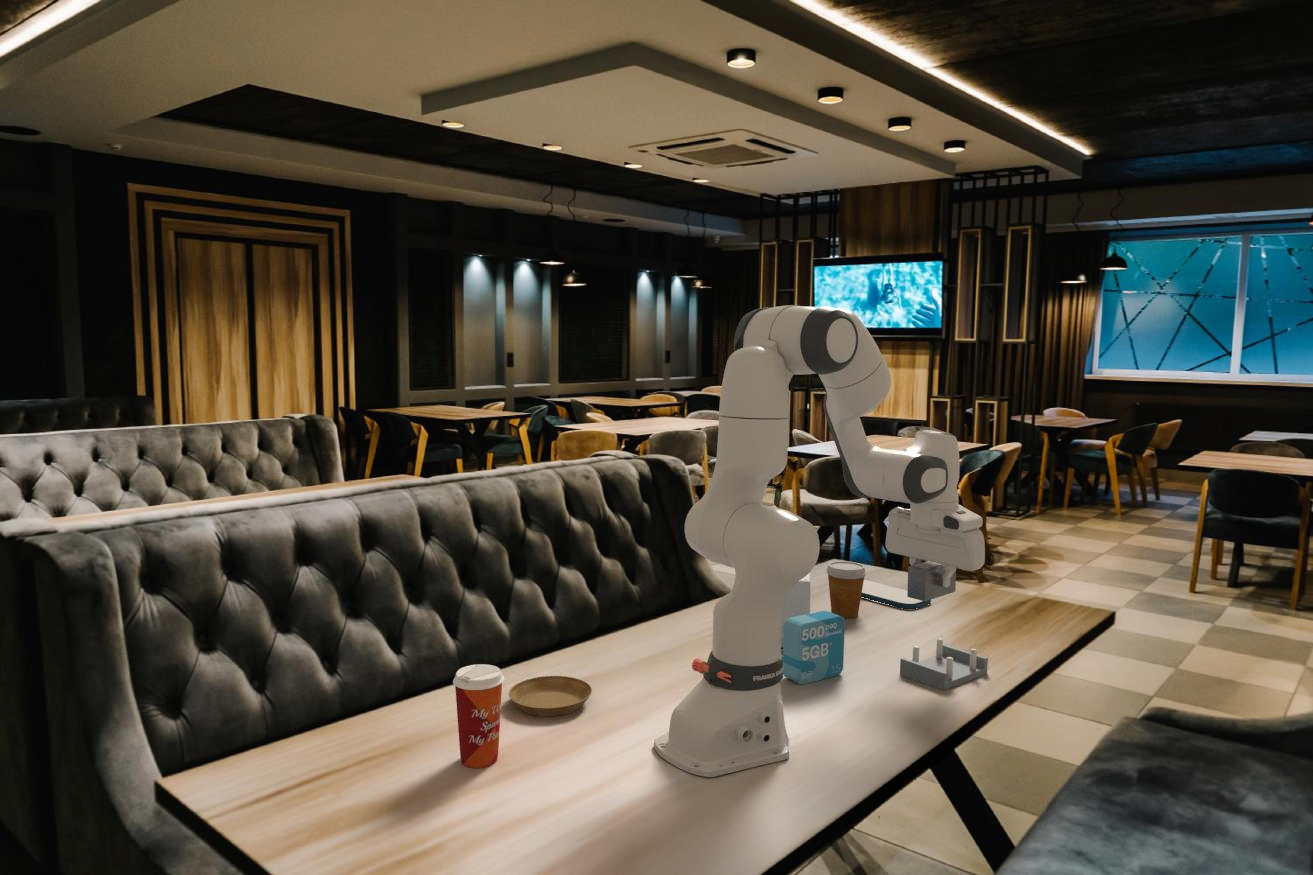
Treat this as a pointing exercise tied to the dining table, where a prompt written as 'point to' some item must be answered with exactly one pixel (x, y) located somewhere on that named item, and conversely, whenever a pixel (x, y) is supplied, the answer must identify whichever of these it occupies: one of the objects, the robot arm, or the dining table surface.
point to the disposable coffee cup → (845, 587)
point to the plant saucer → (550, 695)
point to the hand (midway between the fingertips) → (932, 583)
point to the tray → (944, 666)
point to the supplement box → (797, 601)
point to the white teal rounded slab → (890, 595)
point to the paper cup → (478, 713)
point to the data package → (813, 647)
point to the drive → (928, 581)
